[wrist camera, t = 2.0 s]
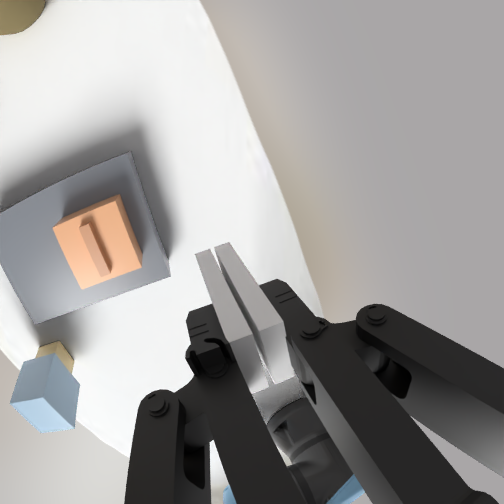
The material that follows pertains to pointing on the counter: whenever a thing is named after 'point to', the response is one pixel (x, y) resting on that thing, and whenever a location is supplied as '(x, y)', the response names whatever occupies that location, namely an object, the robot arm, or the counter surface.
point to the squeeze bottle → (19, 15)
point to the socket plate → (48, 248)
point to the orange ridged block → (99, 242)
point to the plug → (47, 390)
